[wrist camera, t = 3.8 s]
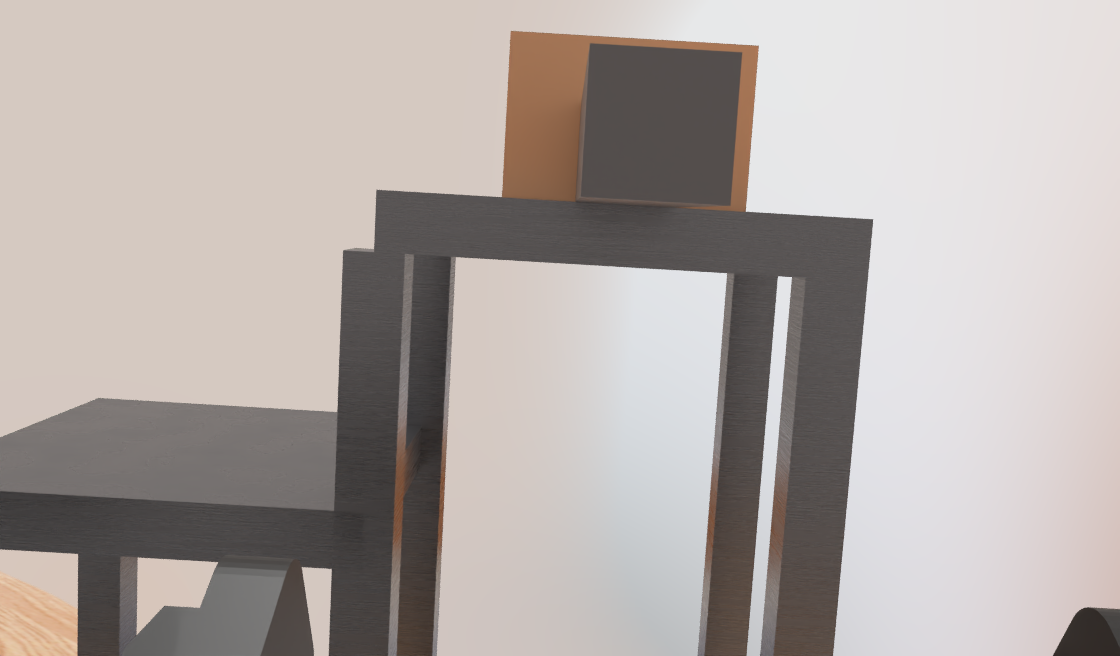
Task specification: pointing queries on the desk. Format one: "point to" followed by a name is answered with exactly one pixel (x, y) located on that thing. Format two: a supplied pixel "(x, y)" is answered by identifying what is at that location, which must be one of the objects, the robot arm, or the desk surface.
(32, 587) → the desk surface
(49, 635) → the desk surface
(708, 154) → the plug
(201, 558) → the stepped rack
